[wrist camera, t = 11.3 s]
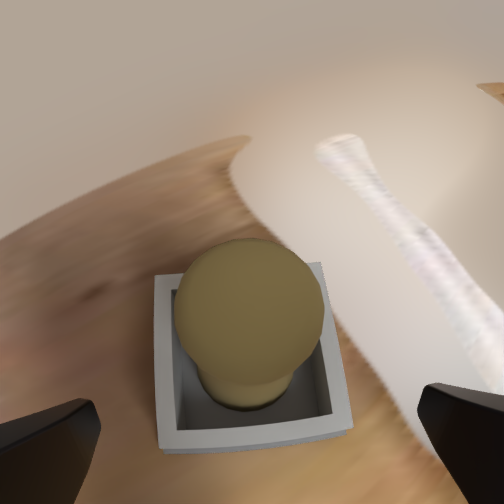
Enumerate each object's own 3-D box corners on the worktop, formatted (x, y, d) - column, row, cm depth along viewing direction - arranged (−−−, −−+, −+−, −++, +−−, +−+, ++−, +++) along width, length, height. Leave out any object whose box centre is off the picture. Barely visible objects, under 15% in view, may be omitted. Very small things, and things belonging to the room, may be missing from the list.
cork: (239, 301, 21) (238, 184, 12) (313, 356, 19) (380, 277, 10) (176, 368, 19) (113, 299, 9) (253, 431, 17) (268, 435, 7)
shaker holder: (341, 434, 18) (363, 434, 14) (167, 452, 17) (150, 457, 13) (314, 282, 23) (326, 254, 20) (161, 295, 22) (147, 268, 19)
